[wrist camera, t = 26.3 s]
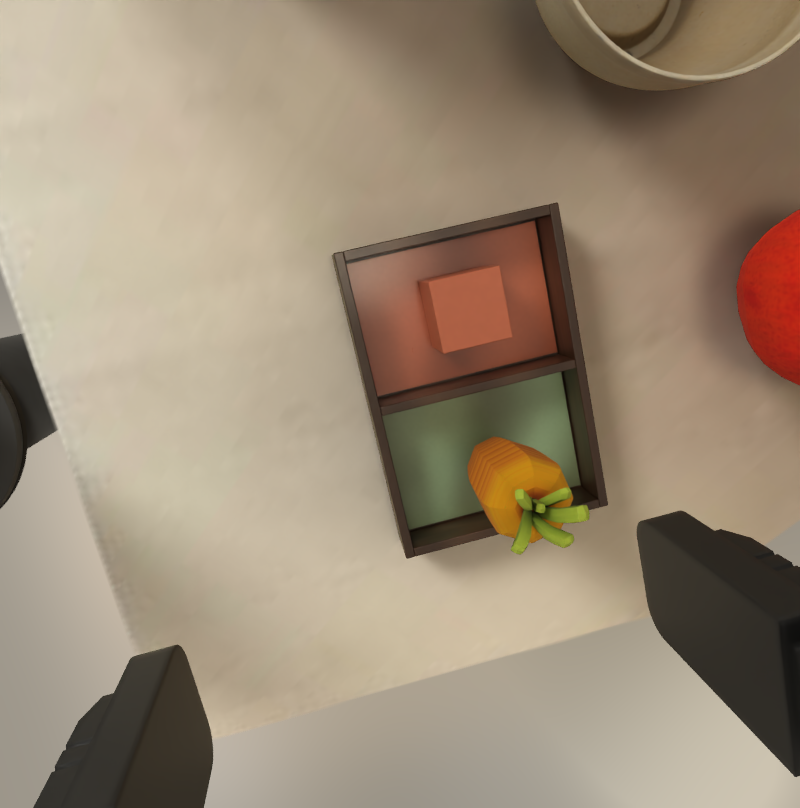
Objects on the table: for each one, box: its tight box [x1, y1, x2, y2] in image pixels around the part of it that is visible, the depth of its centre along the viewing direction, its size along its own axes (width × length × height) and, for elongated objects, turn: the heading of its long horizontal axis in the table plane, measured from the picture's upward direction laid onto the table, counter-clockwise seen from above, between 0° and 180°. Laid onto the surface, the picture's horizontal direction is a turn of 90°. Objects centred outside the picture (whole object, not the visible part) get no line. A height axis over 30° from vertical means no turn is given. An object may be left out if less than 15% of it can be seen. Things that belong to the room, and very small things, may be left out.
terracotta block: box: [418, 265, 513, 354], centre depth 42 cm, size 4×4×4 cm
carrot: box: [468, 437, 589, 555], centre depth 39 cm, size 5×5×15 cm
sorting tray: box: [332, 203, 608, 558], centre depth 44 cm, size 14×20×4 cm
